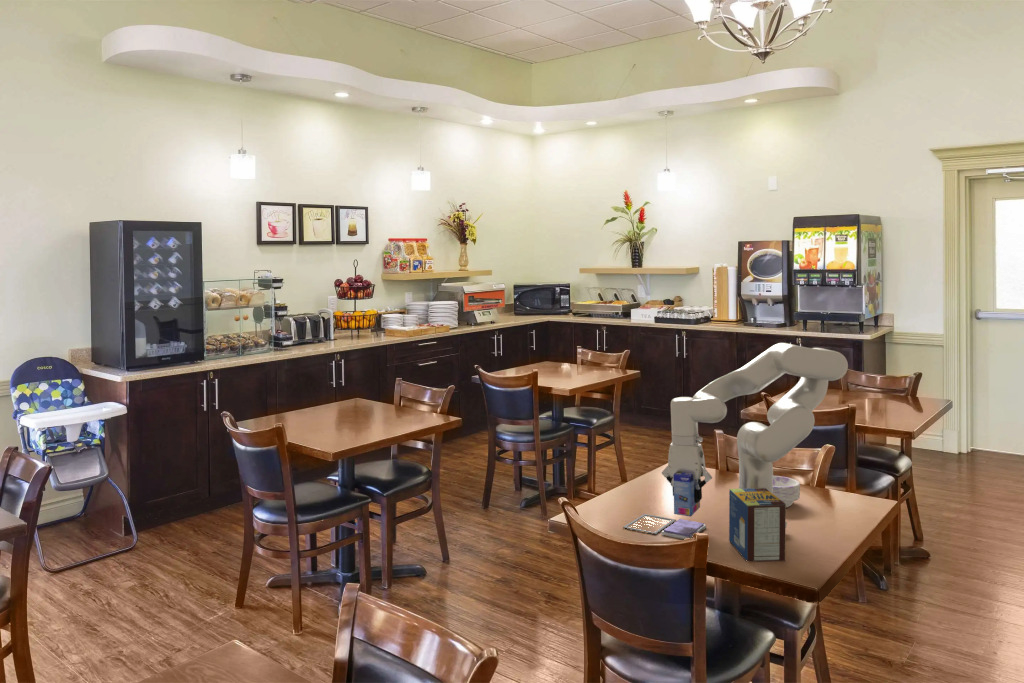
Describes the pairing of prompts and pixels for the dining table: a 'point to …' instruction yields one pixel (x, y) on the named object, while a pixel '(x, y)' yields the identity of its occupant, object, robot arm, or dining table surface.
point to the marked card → (650, 522)
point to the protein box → (757, 524)
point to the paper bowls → (786, 489)
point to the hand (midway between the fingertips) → (687, 499)
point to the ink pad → (683, 529)
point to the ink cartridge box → (684, 494)
